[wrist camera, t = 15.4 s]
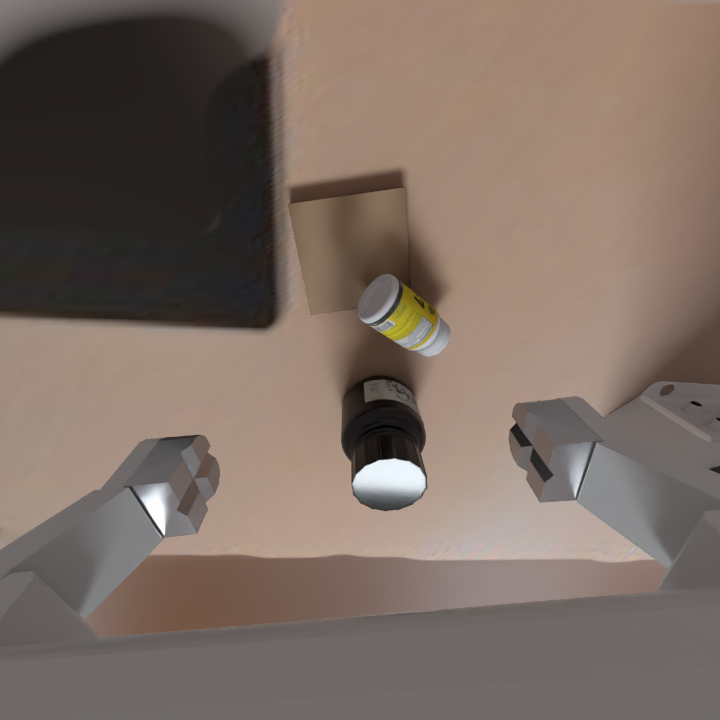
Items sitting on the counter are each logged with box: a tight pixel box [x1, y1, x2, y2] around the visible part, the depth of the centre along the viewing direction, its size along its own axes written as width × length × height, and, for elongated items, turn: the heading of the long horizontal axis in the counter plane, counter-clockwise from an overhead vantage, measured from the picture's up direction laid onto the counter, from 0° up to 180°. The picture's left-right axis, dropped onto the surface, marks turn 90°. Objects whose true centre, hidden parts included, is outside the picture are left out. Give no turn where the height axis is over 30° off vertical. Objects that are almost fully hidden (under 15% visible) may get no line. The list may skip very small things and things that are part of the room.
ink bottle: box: [341, 376, 427, 511], centre depth 34 cm, size 10×9×12 cm
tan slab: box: [288, 187, 411, 315], centre depth 30 cm, size 10×10×2 cm
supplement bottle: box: [358, 274, 450, 357], centre depth 30 cm, size 5×5×8 cm
